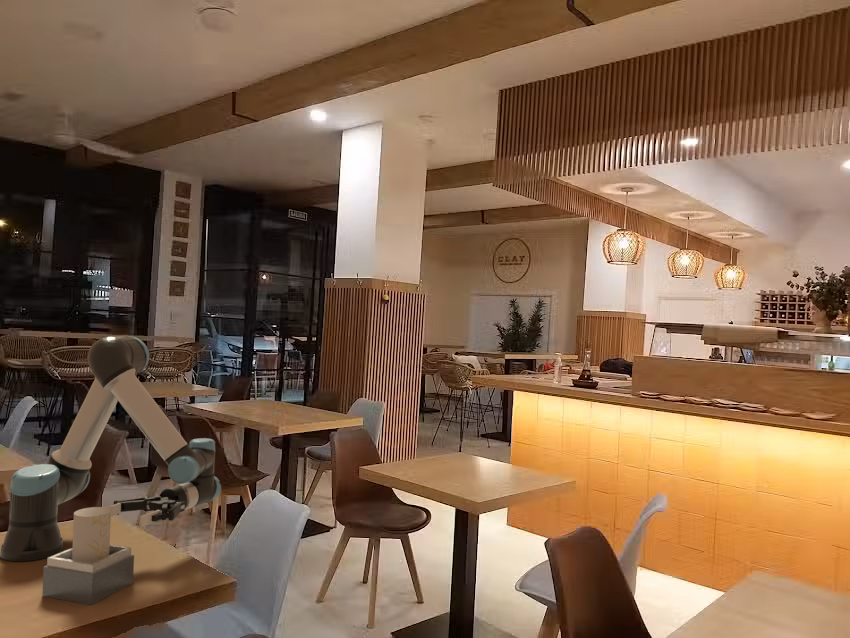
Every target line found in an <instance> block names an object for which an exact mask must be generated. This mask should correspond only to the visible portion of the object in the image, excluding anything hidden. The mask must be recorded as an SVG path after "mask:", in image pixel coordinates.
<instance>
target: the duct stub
mask: <svg viewBox="0 0 850 638" xmlns="http://www.w3.org/2000/svg"><path fill="white" fill-rule="evenodd" d="M46 559H47V563H46V565H45V566H43V578H42V597H46V598H51V599H56V600H60V601H61V600H62V601H66V602H73V603H78V604H83V605H88V606H92V605H94V604H96V603H98V602H100V601H101V599H102V600H103V599H105V598H107V597H109V596H111V595H113V594H115V593H117V592H119V591H121V590H122V589H124V588H126V587H128V586H130V585H132V584H133V583H134V571H135V570H134V568H135V566H134V565H135V554H132V547H130V546H124V545H117V544H111V543H110V546H109V556H107V557H105V558H103V559H100V560H98V561H96V562H94V563H89V562H82V561H76V560H72V547H71V548H68V549H66V550H62V551H61V552H59V553H58V554H55V555H53V556H50V557H47V558H46Z"/></svg>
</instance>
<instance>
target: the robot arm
mask: <svg viewBox="0 0 850 638" xmlns="http://www.w3.org/2000/svg"><path fill="white" fill-rule="evenodd" d="M149 361H150V352H149V348H148V346H147V345H146V344H145V343H144V341H143V340H141V339H140V338H138V337H136V336H131V335H121V336H120V335H119V336H106V337H102V338H100V339H98V340H96V341H95V342H94V343H92V345H91V346H90V348H89V351H88V353H87V364H88V367H89V369H90V371H91V373H92V375H93V376H94V381H93V382H92V384H91V386H90V388H89V390H88V392H87V394H86V397H85V398H84V401H83V403H82V404H81V406H80V408H79V411H78V412H77V413H76V414H77V415H76V416H75V419H74V420H73V422H72V425H71V426H70V428H69V431H68V433H67V435H66V436H65V439H64V440H63V443H62V445H61V447H60V449H56V450H54V451H52V452H51V455H50V456H49V458H48V460H47V463H41V464H33V465H31V466H29V465H28V466H24V467H22V468H20V469H18V470H16V471H15V472H14V473H13V474H12V476H11V481H10V486H9V490H10V493H9V516H8V520H9V521H8V529H7V532H6V534H5V537H4V540H3V543H2V544H1V546H0V559H2V560H4V561H8V562H31V561H38V560H42V559H48V557H51V556H53V555H56V554H58V553H61V552H63V550H64V549H63V548H64V540H63V537H62V536H61V535H62V534H61V531H60V527H59V525H58V508H59V506H60V505H61V504H63V503H65V502H68V501H70V500H72V499H74V498H76V497H77V496H79V495H80V494H81V493H83V491H84V490H85V489H87V487H88V485H89V483H90V481H91V480H90V479H91V472H90V470H91V469H92V466H93V465H92V461H91V459H90V458H91V457H92V454H93V452H94V450H95V448H96V446H97V444H98V441H99V440H100V438H101V435H102V434H103V431H104V430H105V428H106V426H107V423H108V421H109V419H110V418H111V416H112V413H113V412H114V410H115V407H116V405H117V404H118V402H119V404H120V405H121V407H122V408H123V409H124V410H125V411H126V413H127V415H129V417H130V418H131V420H133V422H134V423H135V425H136V426H137V427H138V429H139V430H140V431H141V432H142V433H143V435H144V436H145V438H146V439H147V440H148V441H149V443H150V444H151V445H152V446H153V448H154V449H155V451H156V452H157V453H158V454H159V456H160V458H162V459H163V461H164V462H165V463H166V465H167V466H168V467H167V473H168V477H169V479H170V480H171V481H173V482H174V483H177V484H176V485H174V486H170V487H168V488H165V489H163V490H162V491H161V492H160V494H159V495H155V496H154V497H152V496H151V497H150V495H142V496H138V497H133V498H126V499H118V500H114V501H113V504H111V505H108V506H105V507H106V508H109V509H111V517H113V516H120V514H121V513H123V512H133V511H134V512H135V511H144V512H148V513H145V514H142V515H140V516H139V523H138V524H139V526H138V527H140V528H142V527H146V526H149V525H151V524H154V523H157V522H160V521H165V520H167V519H168V521H171V522H172V521H174V520H175V519H176V518H177V517H178V516H179V514H180V513H182V512H186V511H187V510H189V509H191V508H194V507H198V506H200V505H203V504H207V503H209V502H211V501H213V500H215V499H216V498H218V497H219V496H220V494H221V491H222V484H221V483H220V480H219V478H218V477H217V476H215V461H216V452H217V451H216V441H215V440H214V439H212V438H209V437H208V438H207V437H203V438H201V437H200V438H194V439H190V441H189V444H188V443H187V441H186V440H185V439H184V437H183V435H182V434H180V432H179V431H178V429H177V428H176V427H175V426H174V425H173V423H172V421H171V420H170V419H169V418H168V416H167V415H166V414H165V412H164V411H163V409H162V408H161V407H160V405H158V403H157V401H155V399H154V398H153V397H152V396H151V394H150V393H149V391H148V390H147V389H146V388H145V387H144V385H143V383H142V382H141V381H140V380H139V379H138V377H137V375H138V374H139V373H140V372H142V371H143V370H144V369H145V368H146V367H147V366H148V363H149Z"/></svg>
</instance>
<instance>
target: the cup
mask: <svg viewBox="0 0 850 638" xmlns="http://www.w3.org/2000/svg"><path fill="white" fill-rule="evenodd" d="M106 507H107V506H104V507H103V506H91V507H84V508H81V509H78V510H77V509H76V511H74V512H73V525H72V547H71V548H72V560H76V561H82V562H89V563H94V562H96V561H98V560H100V559H103V558H105V557H107V556H109V546H110V544H111V543H110V541H111V520H112V519H111V517H112V516H111V509H109V508H106Z"/></svg>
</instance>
